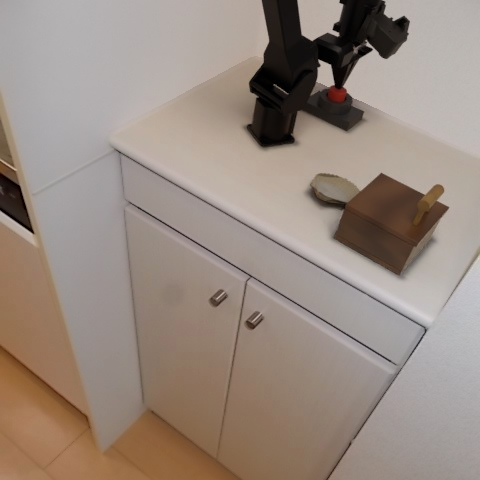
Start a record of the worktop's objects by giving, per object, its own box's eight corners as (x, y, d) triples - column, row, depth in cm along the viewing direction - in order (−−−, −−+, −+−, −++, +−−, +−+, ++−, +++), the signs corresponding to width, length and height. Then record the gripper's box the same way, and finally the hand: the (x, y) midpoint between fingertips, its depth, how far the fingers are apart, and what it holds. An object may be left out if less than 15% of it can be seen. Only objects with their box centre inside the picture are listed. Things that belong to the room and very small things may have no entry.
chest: (430, 239, 78) (445, 210, 74) (399, 275, 72) (414, 246, 68) (368, 206, 81) (379, 177, 77) (333, 238, 75) (344, 208, 71)
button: (347, 99, 96) (350, 89, 95) (339, 104, 94) (341, 95, 93) (332, 92, 97) (335, 83, 96) (324, 97, 95) (326, 88, 94)
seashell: (360, 213, 82) (336, 175, 85) (371, 200, 80) (346, 161, 83) (321, 218, 78) (297, 178, 81) (331, 205, 76) (306, 163, 78)
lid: (447, 211, 73) (462, 182, 70) (416, 247, 67) (431, 218, 64) (379, 177, 77) (390, 148, 73) (344, 208, 71) (354, 178, 67)
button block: (361, 119, 98) (367, 101, 96) (346, 131, 95) (352, 113, 92) (317, 98, 101) (321, 81, 99) (300, 109, 98) (304, 91, 95)
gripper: (384, 23, 75) (353, 124, 86) (433, -4, 85) (399, 89, 97) (319, -3, 78) (297, 98, 90) (374, -26, 89) (348, 67, 101)
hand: (338, 88), depth 94 cm, fingers closed
